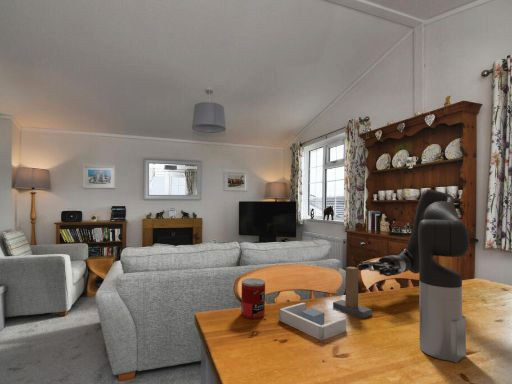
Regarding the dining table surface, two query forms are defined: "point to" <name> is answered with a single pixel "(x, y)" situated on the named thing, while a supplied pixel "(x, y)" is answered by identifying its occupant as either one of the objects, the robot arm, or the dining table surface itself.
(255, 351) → the dining table surface
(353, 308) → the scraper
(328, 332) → the box
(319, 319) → the ceramic block
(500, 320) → the dining table surface
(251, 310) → the canned food
